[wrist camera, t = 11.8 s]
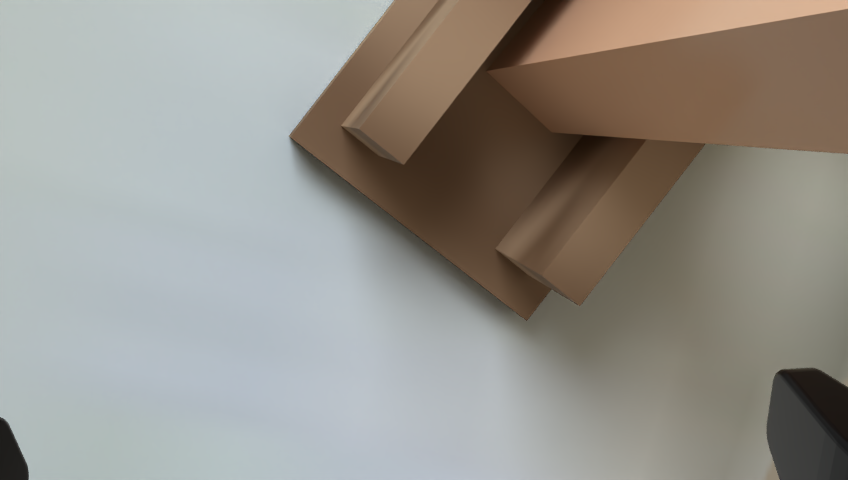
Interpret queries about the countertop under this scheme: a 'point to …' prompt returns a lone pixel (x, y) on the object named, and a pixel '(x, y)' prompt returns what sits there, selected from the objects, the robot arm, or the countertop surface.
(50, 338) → the countertop surface
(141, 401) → the countertop surface
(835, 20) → the clay strip
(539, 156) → the drying rack
